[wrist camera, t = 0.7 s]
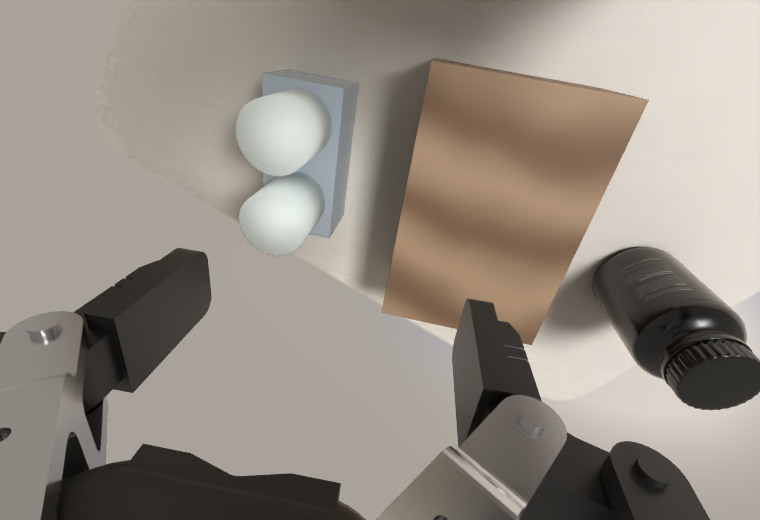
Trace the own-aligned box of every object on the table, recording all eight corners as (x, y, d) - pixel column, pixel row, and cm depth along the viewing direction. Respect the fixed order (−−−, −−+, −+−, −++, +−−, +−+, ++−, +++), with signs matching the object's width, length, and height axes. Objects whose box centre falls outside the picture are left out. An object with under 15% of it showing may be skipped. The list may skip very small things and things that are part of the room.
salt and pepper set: (289, 69, 29) (223, 78, 20) (358, 82, 29) (322, 97, 20) (285, 202, 35) (232, 253, 26) (343, 214, 34) (310, 270, 26)
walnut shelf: (433, 58, 27) (431, 60, 21) (601, 88, 27) (648, 100, 20) (391, 268, 36) (381, 312, 30) (516, 294, 36) (531, 345, 30)
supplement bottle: (579, 304, 35) (636, 411, 25) (608, 238, 32) (688, 330, 21) (656, 316, 35) (748, 430, 24) (694, 251, 31) (819, 351, 21)
